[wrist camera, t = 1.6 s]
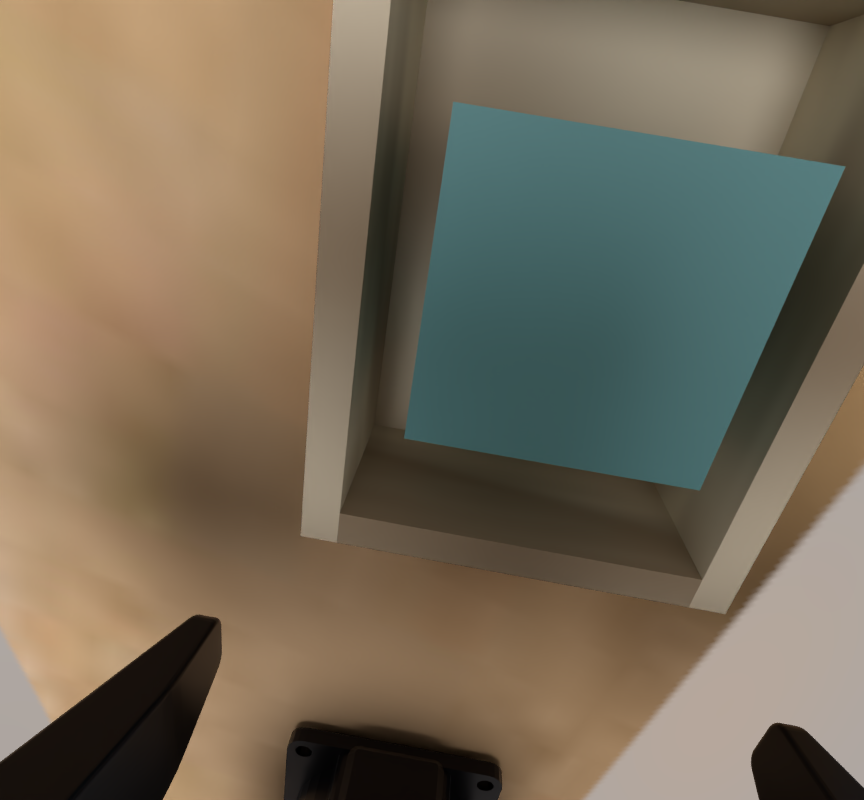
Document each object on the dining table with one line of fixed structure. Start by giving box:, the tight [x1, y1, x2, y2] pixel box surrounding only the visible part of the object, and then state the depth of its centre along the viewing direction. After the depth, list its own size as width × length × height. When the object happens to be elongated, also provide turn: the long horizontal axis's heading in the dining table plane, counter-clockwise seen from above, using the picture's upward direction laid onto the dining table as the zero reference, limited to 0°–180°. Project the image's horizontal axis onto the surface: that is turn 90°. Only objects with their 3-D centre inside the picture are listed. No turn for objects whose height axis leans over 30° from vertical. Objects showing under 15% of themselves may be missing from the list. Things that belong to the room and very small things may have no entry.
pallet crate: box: [301, 0, 864, 614], centre depth 9 cm, size 9×7×4 cm
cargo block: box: [404, 102, 846, 491], centre depth 8 cm, size 4×4×4 cm
